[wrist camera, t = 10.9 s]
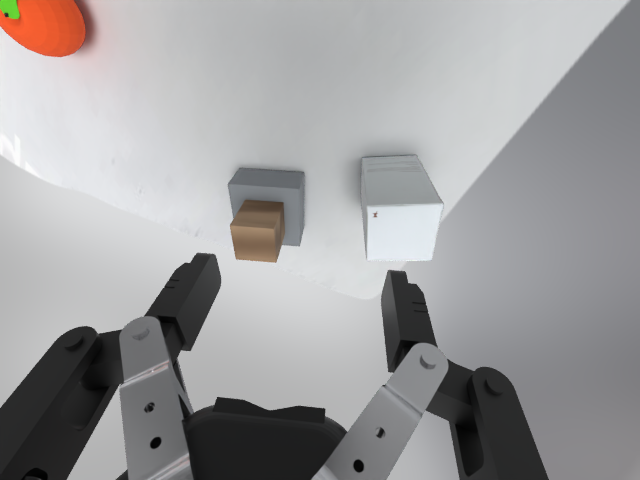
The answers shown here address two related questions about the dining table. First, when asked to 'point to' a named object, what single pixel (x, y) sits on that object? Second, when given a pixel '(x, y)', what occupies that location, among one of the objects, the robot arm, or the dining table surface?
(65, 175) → the dining table surface
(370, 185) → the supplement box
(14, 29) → the clementine
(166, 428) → the robot arm
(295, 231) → the base
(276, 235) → the walnut block
